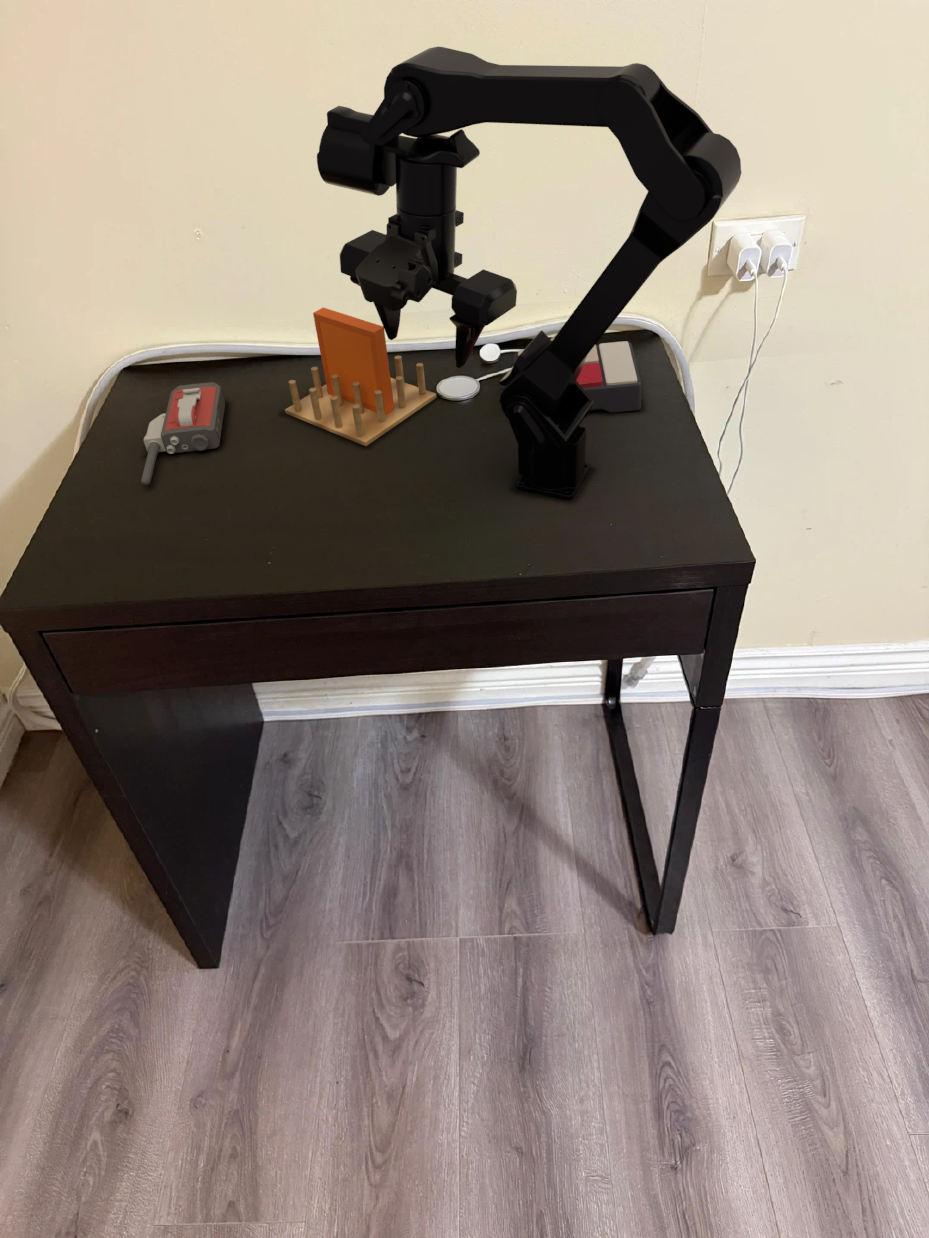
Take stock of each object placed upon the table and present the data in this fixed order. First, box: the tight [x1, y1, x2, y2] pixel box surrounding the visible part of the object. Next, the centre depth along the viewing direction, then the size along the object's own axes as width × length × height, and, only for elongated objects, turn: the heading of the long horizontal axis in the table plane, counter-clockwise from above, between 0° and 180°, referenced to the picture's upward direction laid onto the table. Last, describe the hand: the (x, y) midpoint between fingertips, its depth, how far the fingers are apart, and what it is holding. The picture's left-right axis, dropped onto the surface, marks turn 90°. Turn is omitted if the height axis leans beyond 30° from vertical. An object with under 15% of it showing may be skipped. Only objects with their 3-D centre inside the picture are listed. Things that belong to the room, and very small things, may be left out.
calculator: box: [514, 340, 642, 414], centre depth 113 cm, size 11×4×15 cm
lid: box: [312, 307, 394, 416], centre depth 111 cm, size 10×2×11 cm, turn 52°
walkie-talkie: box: [140, 381, 226, 486], centre depth 110 cm, size 9×4×20 cm
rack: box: [284, 355, 437, 447], centre depth 113 cm, size 14×13×5 cm
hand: (426, 352), depth 97 cm, fingers open, 9 cm apart
